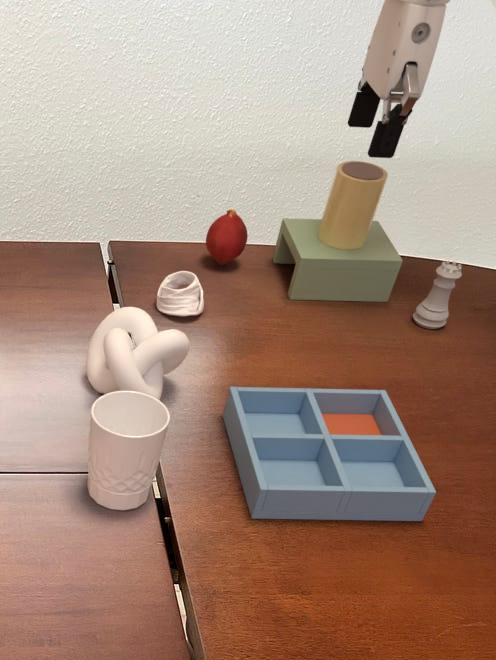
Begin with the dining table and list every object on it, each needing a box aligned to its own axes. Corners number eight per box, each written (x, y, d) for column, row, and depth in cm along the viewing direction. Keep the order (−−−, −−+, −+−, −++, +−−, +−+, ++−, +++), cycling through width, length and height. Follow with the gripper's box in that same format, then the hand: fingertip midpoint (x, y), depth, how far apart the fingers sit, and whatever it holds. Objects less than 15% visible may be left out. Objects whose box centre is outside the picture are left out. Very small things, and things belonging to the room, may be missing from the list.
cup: (358, 228, 126) (380, 160, 119) (370, 250, 122) (394, 181, 115) (312, 227, 126) (331, 159, 119) (323, 249, 122) (344, 180, 115)
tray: (374, 418, 107) (385, 389, 103) (422, 521, 95) (436, 492, 92) (222, 415, 106) (229, 386, 103) (251, 518, 94) (260, 489, 91)
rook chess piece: (433, 333, 120) (458, 277, 114) (405, 320, 122) (427, 263, 116) (451, 323, 122) (476, 266, 116) (422, 309, 124) (445, 253, 118)
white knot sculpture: (173, 430, 104) (187, 362, 97) (72, 413, 105) (79, 345, 98) (183, 377, 111) (196, 310, 104) (88, 362, 112) (96, 295, 105)
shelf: (364, 261, 133) (378, 220, 128) (387, 302, 125) (403, 260, 120) (272, 258, 132) (282, 218, 128) (289, 299, 124) (301, 258, 120)
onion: (212, 250, 133) (224, 195, 127) (247, 262, 131) (260, 207, 125) (194, 265, 130) (205, 209, 124) (229, 277, 128) (242, 221, 122)
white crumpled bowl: (204, 330, 120) (214, 297, 116) (155, 323, 120) (164, 290, 116) (199, 296, 125) (209, 264, 121) (152, 289, 124) (161, 257, 120)
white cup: (115, 458, 100) (126, 381, 92) (169, 492, 96) (186, 414, 89) (67, 489, 96) (74, 411, 88) (121, 525, 92) (134, 447, 85)
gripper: (480, 5, 96) (418, 170, 109) (429, -38, 107) (378, 117, 120) (412, 1, 96) (358, 168, 109) (368, -42, 107) (324, 114, 120)
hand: (369, 141), depth 115 cm, fingers open, 9 cm apart
